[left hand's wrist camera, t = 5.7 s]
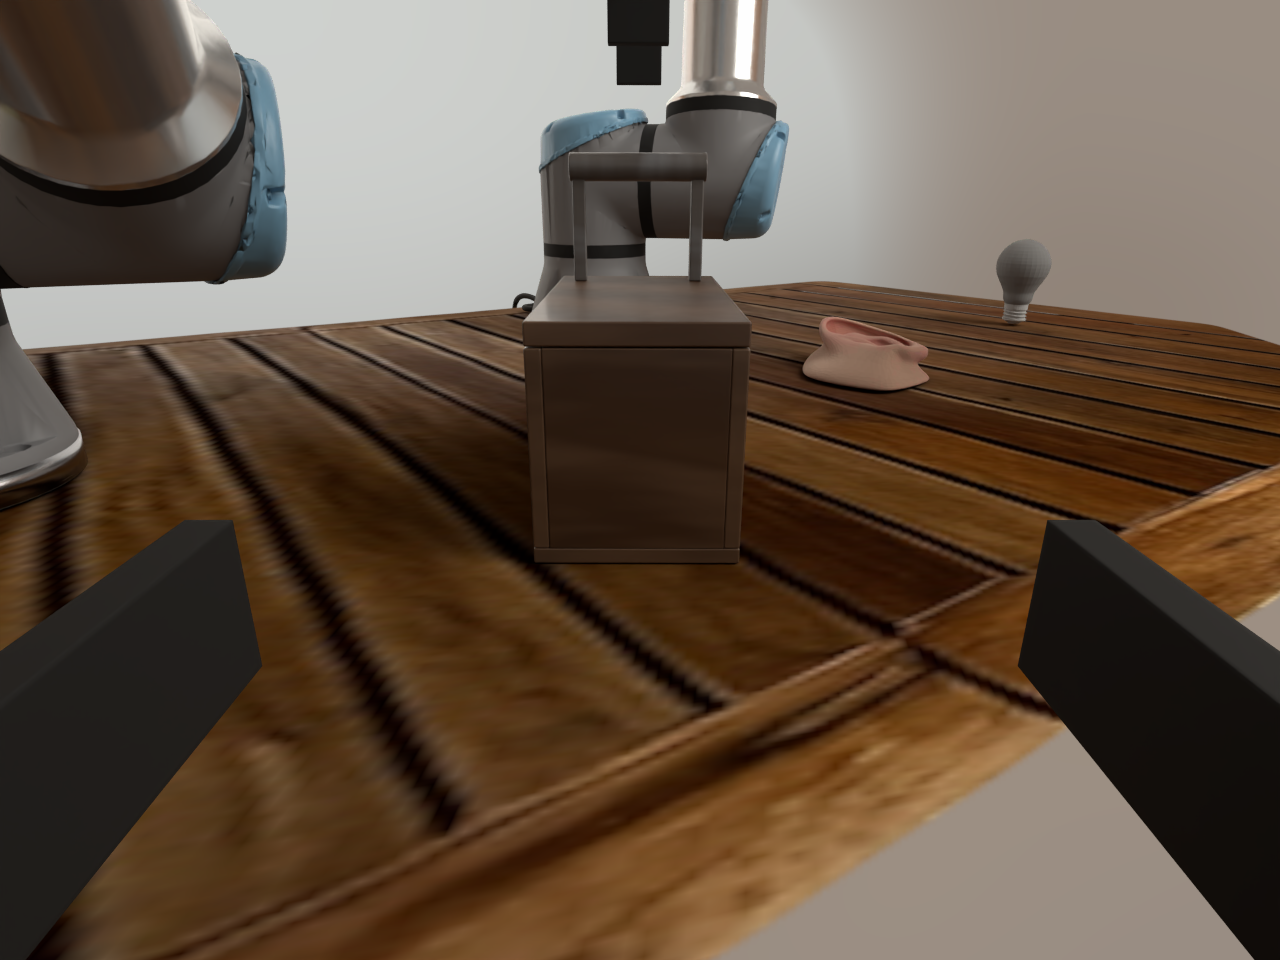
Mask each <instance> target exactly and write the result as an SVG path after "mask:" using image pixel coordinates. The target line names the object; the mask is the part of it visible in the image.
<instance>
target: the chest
mask: <svg viewBox="0 0 1280 960" xmlns="http://www.w3.org/2000/svg"><path fill="white" fill-rule="evenodd" d="M749 366H750V349H749V347H525V348H524V370H525V389H526V409H527V428H528V447H529V467H530V486H531V506H532V525H533V544H534V562H535V563H738V562H739V551H740V550H739V547H740V531H741V513H742V494H743V476H744V458H745V439H746V421H747V403H748V384H749Z"/></svg>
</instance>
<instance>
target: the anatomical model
mask: <svg viewBox="0 0 1280 960" xmlns="http://www.w3.org/2000/svg"><path fill="white" fill-rule="evenodd" d="M819 332H820V336H821V339H822V341H823V342H824V343H823V345H822V346H821V347H820V348H819V349H817V350H816V351H815V352H813V353H812V354H811V355H810V356H809V357H808V359H807V360H806V361H805V363H804V365H803V373H804V374H805V375H806V376H808V377H810V378H813V379H816V380H819V381H823V382H827V383H832V384H837V385H843V386H849V387H855V388H862V389H869V390H879V391H890V390H899V389H904V388H908V387H912V386H916V385H919V384H921V383H924V382H926V381H928V380H929V377H928V375H927V374H926V373H925V372H924V371H923V370H922V369H921V368H920V367H919V366H918V362H920V361H921V360H923V359H924V358H926V357H927V355H928V349H927V348H926V347H925V346H923V345H920V344H918V343H915V342H913V341H911V340H908V339H906V338H904V337H902V336H899V335H896V334H894V333H891V332H888V331H884V330H881V329H878V328H875V327H872V326H868V325H865V324H862V323H858V322H855V321H852V320H848V319H843V318H838V317H827V318H825V319H823V320H822V321H821V323H820V326H819Z"/></svg>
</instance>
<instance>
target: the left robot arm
mask: <svg viewBox="0 0 1280 960" xmlns="http://www.w3.org/2000/svg"><path fill="white" fill-rule="evenodd" d="M284 190H285V163H284V152H283V142H282V133H281V124H280V117H279V110H278V104H277V99H276V93H275V89H274V85H273V81H272V78H271V76H270V73H269V71H268V70H267V69H266V68H265V67H264V66H263V65H262V64H261V63H259V62H258V61H256V60H253V59H248V58H244V57H243V56H241V55H240V54H238V53H235V54H234V53H233V52H232V49H231V47H230V45H229V43H228V41H227V39H226V38H225V36H224V35H223V33H222V32H221V31H220V29H219V28H218V26H217V25H216V24H215V23H214V22H213V21H212V20H211V19H210V18H209V17H208V16H207V15H206V14H205V13H204V12H203V11H202V10H201V9H200V8H199V7H198V6H196V5H195V4H194V3H193V2H192V1H190V0H0V510H1V509H4V508H7V507H10V506H13V505H16V504H19V503H22V502H24V501H27V500H30V499H32V498H35V497H37V496H40V495H42V494H44V493H47V492H49V491H51V490H53V489H55V488H57V487H59V486H61V485H63V484H65V483H66V482H68V481H70V480H71V479H73V478H74V477H76V476H77V475H78V474H79V473H80V472H81V471H82V470H84V468H85V467H86V465H87V462H88V459H87V455H86V451H85V447H84V444H83V440H82V436H81V433H80V431H79V429H78V428H77V427H76V425H75V423H74V422H73V420H72V419H71V417H70V416H69V415H68V413H67V412H66V410H65V409H64V408H63V406H62V405H61V403H60V402H59V401H58V399H57V398H56V396H55V395H54V394H53V392H52V391H51V389H50V388H49V387H48V385H47V384H46V382H45V381H44V380H43V378H42V377H41V375H40V374H39V373H38V371H37V370H36V368H35V367H34V366H33V364H32V363H31V361H30V360H29V359H28V357H27V356H26V354H25V353H24V352H23V350H22V349H21V347H20V346H19V345H18V343H17V342H16V340H15V338H14V336H13V333H12V330H11V327H10V323H9V321H8V317H7V314H6V310H5V307H4V303H3V300H2V297H1V296H2V295H1V289H8V288H30V287H54V286H82V285H109V284H137V283H165V282H193V281H205V282H206V283H209V284H223V283H225V282H227V281H228V280H236V279H247V278H258V277H264V276H267V275H269V274H271V273H273V272H274V271H275V270H276V269H277V268H278V267H279V266H280V264H281V263H282V261H283V258H284V255H285V250H286V240H287V204H286V197H285V194H284ZM261 667H262V663H261V658H260V653H259V648H258V643H257V638H256V633H255V628H254V623H253V618H252V614H251V609H250V604H249V599H248V594H247V589H246V584H245V579H244V574H243V569H242V564H241V560H240V555H239V550H238V545H237V540H236V535H235V530H234V525H233V520H184V521H183V522H182V523H180V524H179V525H177V526H176V527H175V528H173V529H172V530H170V531H169V532H167V533H166V534H165V535H163V536H162V537H160V538H159V539H158V540H156V541H155V542H153V543H152V544H151V545H149V546H148V547H146V548H145V549H144V550H142V551H141V552H139V553H138V554H137V555H135V556H134V557H132V558H131V559H129V560H128V561H127V562H125V563H124V564H122V565H121V566H120V567H118V568H117V569H115V570H114V571H113V572H111V573H110V574H108V575H107V576H106V577H104V578H103V579H101V580H100V581H99V582H97V583H96V584H94V585H93V586H91V587H90V588H89V589H87V590H86V591H84V592H83V593H82V594H80V595H79V596H77V597H76V598H75V599H73V600H72V601H70V602H69V603H68V604H66V605H65V606H63V607H62V608H61V609H59V610H58V611H56V612H55V613H54V614H52V615H51V616H49V617H48V618H46V619H45V620H44V621H42V622H41V623H39V624H38V625H37V626H35V627H34V628H32V629H31V630H30V631H28V632H27V633H25V634H24V635H23V636H21V637H20V638H18V639H17V640H16V641H14V642H13V643H11V644H10V645H8V646H7V647H6V648H4V649H3V650H1V651H0V960H26V959H27V957H28V956H29V955H30V954H31V952H32V951H33V950H34V949H35V947H36V946H37V945H38V944H39V942H40V941H41V940H42V939H43V938H44V936H45V935H46V934H47V933H48V931H49V930H50V929H51V928H52V926H53V925H54V924H55V923H56V921H57V920H58V919H59V918H60V916H61V915H62V914H63V913H64V911H65V910H66V909H67V908H68V906H69V905H70V904H71V903H72V902H73V900H74V899H75V898H76V897H77V895H78V894H79V893H80V892H81V890H82V889H83V888H84V887H85V885H86V884H87V883H88V882H89V880H90V879H91V878H92V877H93V875H94V874H95V873H96V872H97V870H98V869H99V868H100V867H101V865H102V864H103V863H104V862H105V861H106V859H107V858H108V857H109V856H110V854H111V853H112V852H113V851H114V849H115V848H116V847H117V846H118V844H119V843H120V842H121V841H122V839H123V838H124V837H125V836H126V834H127V833H128V832H129V831H130V829H131V828H132V827H133V826H134V824H135V823H136V822H137V821H138V820H139V818H140V817H141V816H142V815H143V813H144V812H145V811H146V810H147V808H148V807H149V806H150V805H151V803H152V802H153V801H154V800H155V798H156V797H157V796H158V795H159V793H160V792H161V791H162V790H163V788H164V787H165V786H166V785H167V784H168V782H169V781H170V780H171V779H172V777H173V776H174V775H175V774H176V772H177V771H178V770H179V769H180V767H181V766H182V765H183V764H184V762H185V761H186V760H187V759H188V757H189V756H190V755H191V754H192V752H193V751H194V750H195V749H196V747H197V746H198V745H199V744H200V743H201V741H202V740H203V739H204V738H205V736H206V735H207V734H208V733H209V731H210V730H211V729H212V728H213V726H214V725H215V724H216V723H217V721H218V720H219V719H220V718H221V716H222V715H223V714H224V713H225V711H226V710H227V709H228V708H229V707H230V705H231V704H232V703H233V702H234V700H235V699H236V698H237V697H238V695H239V694H240V693H241V692H242V690H243V689H244V688H245V687H246V685H247V684H248V683H249V682H250V680H251V679H252V678H253V677H254V675H255V674H256V673H257V672H258V670H259V669H260V668H261ZM1018 667H1019V668H1020V669H1021V670H1022V672H1023V673H1024V674H1025V675H1026V677H1027V678H1028V679H1029V680H1030V682H1031V683H1032V684H1033V685H1034V687H1035V688H1036V689H1037V690H1038V692H1039V693H1040V694H1041V695H1042V697H1043V698H1044V699H1045V700H1046V702H1047V703H1048V704H1049V705H1050V707H1051V708H1052V709H1053V710H1054V711H1055V713H1056V714H1057V715H1058V716H1059V718H1060V719H1061V720H1062V721H1063V723H1064V724H1065V725H1066V726H1067V728H1068V729H1069V730H1070V731H1071V733H1072V734H1073V735H1074V736H1075V738H1076V739H1077V740H1078V741H1079V743H1080V744H1081V745H1082V746H1083V747H1084V749H1085V750H1086V751H1087V752H1088V754H1089V755H1090V756H1091V757H1092V759H1093V760H1094V761H1095V762H1096V764H1097V765H1098V766H1099V767H1100V769H1101V770H1102V771H1103V772H1104V774H1105V775H1106V776H1107V777H1108V778H1109V780H1110V781H1111V782H1112V784H1113V785H1114V786H1115V787H1116V788H1117V790H1118V791H1119V792H1120V793H1121V795H1122V796H1123V797H1124V798H1125V800H1126V801H1127V802H1128V803H1129V805H1130V806H1131V807H1132V808H1133V810H1134V811H1135V812H1136V813H1137V815H1138V816H1139V817H1140V818H1141V819H1142V821H1143V822H1144V823H1145V824H1146V826H1147V827H1148V828H1149V829H1150V831H1151V832H1152V833H1153V834H1154V836H1155V837H1156V838H1157V839H1158V841H1159V842H1160V843H1161V844H1162V846H1163V847H1164V848H1165V849H1166V851H1167V852H1168V853H1169V854H1170V856H1171V857H1172V858H1173V859H1174V861H1175V862H1176V863H1177V864H1178V865H1179V867H1180V868H1181V869H1182V870H1183V872H1184V873H1185V874H1186V875H1187V877H1188V878H1189V879H1190V880H1191V882H1192V883H1193V884H1194V885H1195V887H1196V888H1197V889H1198V890H1199V892H1200V893H1201V894H1202V895H1203V897H1204V898H1205V899H1206V900H1207V901H1208V903H1209V904H1210V905H1211V906H1212V908H1213V909H1214V910H1215V911H1216V913H1217V914H1218V915H1219V916H1220V918H1221V919H1222V920H1223V921H1224V923H1225V924H1226V925H1227V926H1228V928H1229V929H1230V930H1231V931H1232V933H1233V934H1234V935H1235V936H1236V938H1237V939H1238V940H1239V941H1240V942H1241V944H1242V945H1243V946H1244V947H1245V949H1246V950H1247V951H1248V952H1249V954H1250V955H1251V956H1252V957H1253V959H1254V960H1280V651H1279V650H1277V649H1276V648H1274V647H1273V646H1272V645H1270V644H1269V643H1267V642H1266V641H1264V640H1263V639H1262V638H1260V637H1259V636H1257V635H1256V634H1255V633H1253V632H1252V631H1250V630H1249V629H1248V628H1246V627H1245V626H1243V625H1242V624H1240V623H1239V622H1238V621H1236V620H1235V619H1234V618H1232V617H1231V616H1229V615H1228V614H1226V613H1225V612H1224V611H1222V610H1221V609H1219V608H1218V607H1217V606H1215V605H1214V604H1212V603H1211V602H1210V601H1208V600H1207V599H1205V598H1204V597H1203V596H1201V595H1200V594H1198V593H1197V592H1196V591H1194V590H1193V589H1191V588H1190V587H1189V586H1187V585H1186V584H1184V583H1183V582H1181V581H1180V580H1179V579H1177V578H1176V577H1174V576H1173V575H1172V574H1170V573H1169V572H1167V571H1166V570H1165V569H1163V568H1162V567H1160V566H1159V565H1158V564H1156V563H1155V562H1153V561H1152V560H1151V559H1149V558H1148V557H1146V556H1145V555H1143V554H1142V553H1141V552H1139V551H1138V550H1136V549H1135V548H1134V547H1132V546H1131V545H1129V544H1128V543H1127V542H1125V541H1124V540H1122V539H1121V538H1120V537H1118V536H1117V535H1115V534H1114V533H1113V532H1111V531H1110V530H1108V529H1107V528H1105V527H1104V526H1103V525H1101V524H1100V523H1098V522H1097V521H1096V520H1047V525H1046V530H1045V535H1044V540H1043V545H1042V550H1041V555H1040V560H1039V564H1038V569H1037V574H1036V579H1035V584H1034V589H1033V594H1032V599H1031V604H1030V609H1029V614H1028V618H1027V623H1026V628H1025V633H1024V638H1023V643H1022V648H1021V653H1020V658H1019V663H1018Z"/></svg>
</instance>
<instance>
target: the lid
mask: <svg viewBox="0 0 1280 960" xmlns="http://www.w3.org/2000/svg"><path fill="white" fill-rule="evenodd" d="M568 170H569V179H570V181H572V196H573V234H574V271H575V276H564V277H563V278H562V279H561V280H560V281H559V282H558V283H557V284H556V286H555V287H554V288H553V289H552V290H551V291H550V292H549V293H548V294H547V296H546V297H545V298H544V299H543V300H542V301H541V302H540V303H539V304H538V305H537V307H536V308H535V309H534V310H533V311H532V312H531V313H530V314H529V315H528V317H527V318H526V319H525V320H524V321H523V322H522V331H523V345H524V346H525V347H750V345H751V329H752V323H751V322H750V321H749V319H748V318H747V317H746V316H745V315H744V313H743V312H742V311H741V310H740V309H739V308H738V306H737V305H736V304H735V303H734V302H733V301H732V299H731V298H730V297H729V296H728V295H727V294H726V292H725V291H724V290H723V289H722V288H721V287H720V285H719V284H718V283H717V282H716V281H715V280H714V278H713V277H712V276H701V264H702V233H703V200H704V182H705V181H706V180H707V173H708V155H707V153H618V152H570V153H569V156H568ZM585 181H642V182H691V194H690V235H689V275H688V276H587V232H586V185H585Z"/></svg>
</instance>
